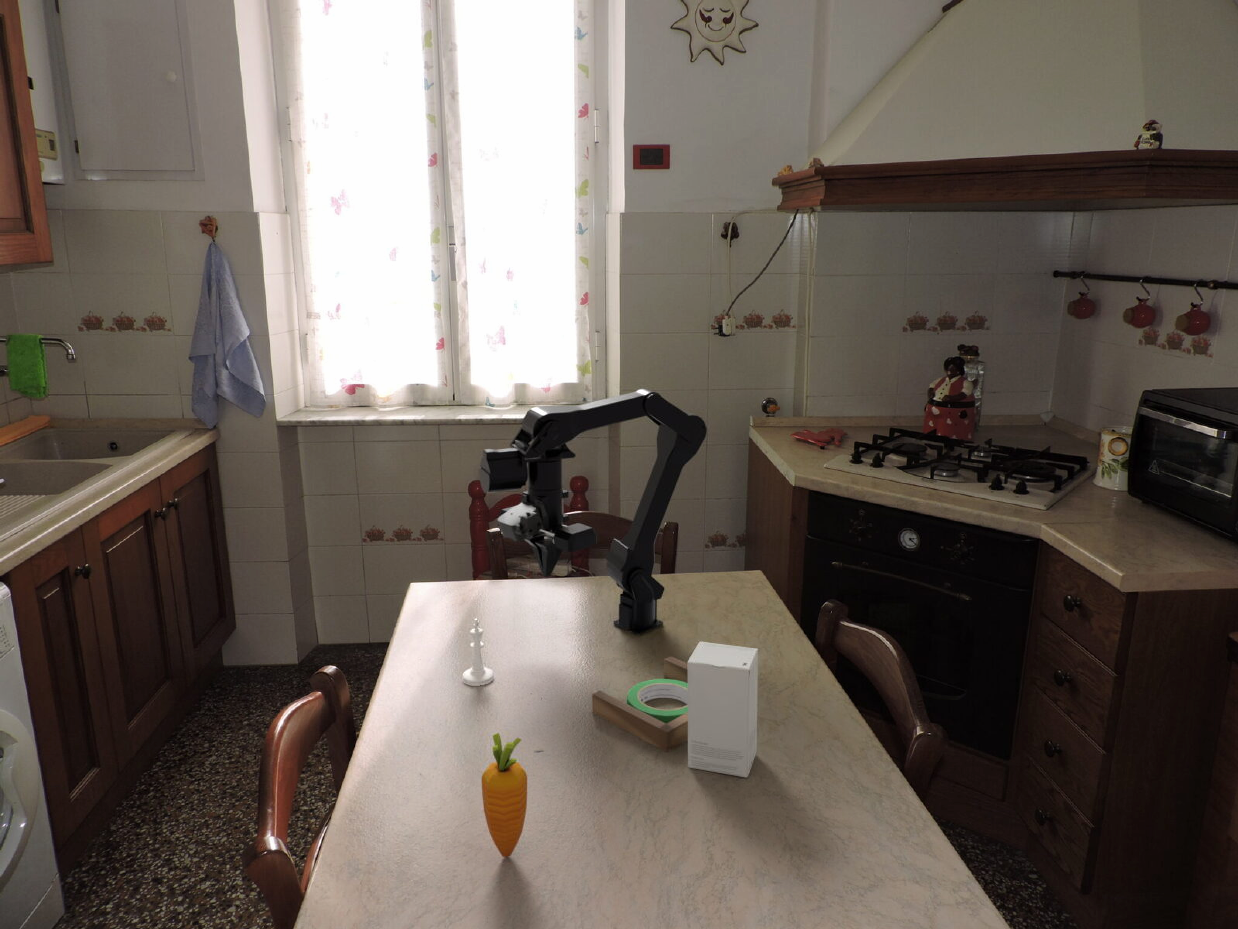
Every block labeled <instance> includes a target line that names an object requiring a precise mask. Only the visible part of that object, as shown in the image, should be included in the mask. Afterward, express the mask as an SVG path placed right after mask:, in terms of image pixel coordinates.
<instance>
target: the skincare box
mask: <svg viewBox="0 0 1238 929" xmlns="http://www.w3.org/2000/svg"><path fill="white" fill-rule="evenodd" d="M758 662H759V648H756V647H755V648H753V647H747V646H739V645H731V644H722V643H715V642H707V641H699V642H698V644H697V645H696V647H695V649H694V650H693V652H692V654H691V655H690V657H689V659H688V661H687V662H686V663H687V668H688V740H687V767H688V768H690V769H696V770H701V771H708V772H713V773H718V774H724V775H730V776H736V777H741V778H748V777H749V775H750V771H751V769H752V766H753V763H754V761H755V758H756V754H757V740H758V739H757V738H758V737H757V736H758V690H759V689H758V683H759V682H758V680H759V675H758V673H759V671H758V670H759V663H758Z"/></svg>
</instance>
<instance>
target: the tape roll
mask: <svg viewBox="0 0 1238 929" xmlns="http://www.w3.org/2000/svg"><path fill="white" fill-rule="evenodd" d="M626 697H627V698H626V700H627V702H626V704H628V705H630V706H632V707H634V708H636V709H638V710H640V711H642V712H644V713H646V714H648V715H650V716H652V717H654V718H656V719H658V720H660V721H662V722H664V723H666V724H667V723H669V722H671V721H672V720H674V719H676V718H678V717H680V716H681V715H683V714H685V713H687V712H688V683H686V682H682V681H678V680H672V679H668V678H655V679H650V680H644V681H642V682H639V683H636V684H635V685H634V686H632V687H631V688H630V689H629V691H628V692H627V696H626ZM659 698H662V699H663V698H664V699H665V698H667V699H668V698H669V699H672V700H673V699H674V700H678V701H680V702H683V703H685V704H686V705H684V706H682V707H678V708H673V709H662V708H655V707H653V706H650V705H647V704H646V702H647V701H650V700H654V699H659Z"/></svg>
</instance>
